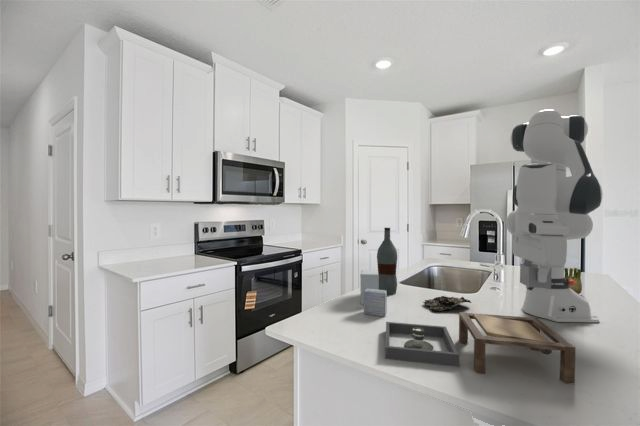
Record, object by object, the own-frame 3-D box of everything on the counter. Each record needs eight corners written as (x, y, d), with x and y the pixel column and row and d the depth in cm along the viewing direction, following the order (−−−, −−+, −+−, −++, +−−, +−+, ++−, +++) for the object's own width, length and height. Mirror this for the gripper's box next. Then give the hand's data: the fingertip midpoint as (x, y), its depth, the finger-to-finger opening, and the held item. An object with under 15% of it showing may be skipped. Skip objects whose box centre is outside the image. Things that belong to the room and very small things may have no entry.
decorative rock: (439, 305, 112) (413, 291, 126) (439, 321, 112) (413, 305, 126) (479, 297, 118) (450, 284, 132) (478, 312, 119) (450, 298, 133)
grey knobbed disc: (450, 352, 83) (450, 334, 83) (411, 359, 80) (411, 340, 80) (423, 334, 95) (423, 319, 95) (388, 339, 91) (388, 323, 91)
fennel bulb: (562, 292, 141) (563, 267, 141) (568, 291, 143) (569, 266, 143) (577, 296, 136) (578, 269, 135) (583, 294, 138) (584, 268, 137)
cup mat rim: (445, 336, 94) (445, 326, 94) (458, 366, 77) (458, 354, 76) (386, 330, 98) (386, 321, 98) (385, 358, 81) (385, 347, 80)
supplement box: (378, 300, 130) (378, 270, 130) (378, 305, 123) (378, 274, 122) (360, 299, 131) (361, 269, 131) (360, 304, 124) (360, 273, 124)
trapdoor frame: (536, 347, 87) (536, 318, 87) (574, 384, 69) (575, 347, 69) (458, 339, 92) (459, 312, 91) (475, 372, 74) (476, 338, 73)
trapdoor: (529, 334, 85) (530, 322, 85) (553, 357, 72) (555, 343, 72) (471, 325, 88) (473, 313, 88) (485, 345, 76) (487, 332, 75)
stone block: (540, 283, 81) (541, 264, 81) (551, 288, 76) (551, 268, 76) (519, 282, 82) (520, 263, 82) (528, 287, 77) (528, 267, 77)
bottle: (392, 289, 146) (392, 226, 145) (400, 294, 137) (401, 228, 136) (373, 290, 145) (374, 227, 144) (380, 295, 136) (381, 228, 135)
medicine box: (386, 313, 114) (387, 290, 114) (385, 317, 110) (385, 293, 110) (365, 310, 117) (366, 288, 117) (363, 314, 113) (363, 291, 113)
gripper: (506, 223, 89) (505, 270, 89) (541, 227, 69) (540, 288, 69) (530, 223, 88) (529, 271, 88) (573, 228, 68) (572, 290, 68)
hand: (534, 278), depth 79 cm, fingers closed on stone block, 5 cm apart
